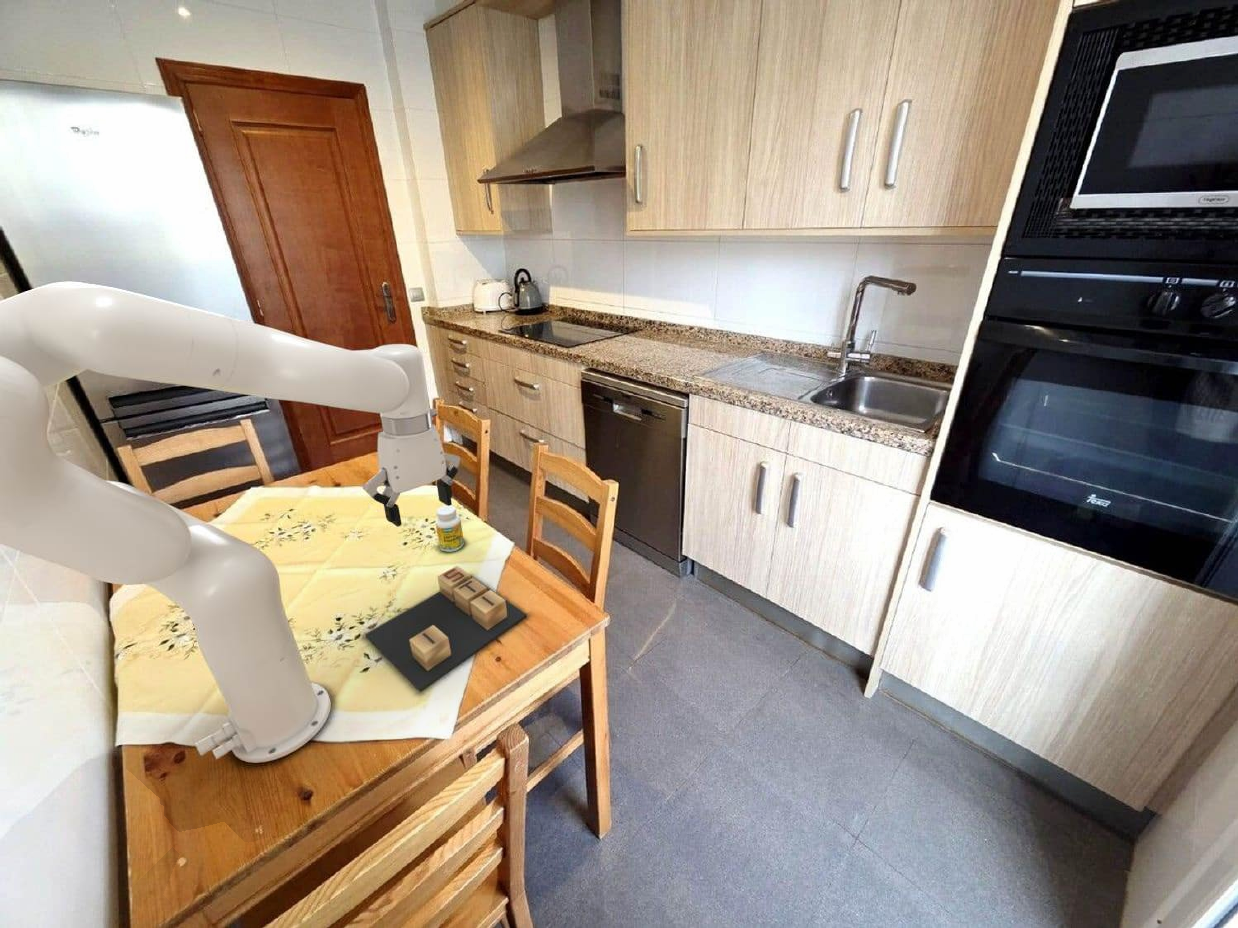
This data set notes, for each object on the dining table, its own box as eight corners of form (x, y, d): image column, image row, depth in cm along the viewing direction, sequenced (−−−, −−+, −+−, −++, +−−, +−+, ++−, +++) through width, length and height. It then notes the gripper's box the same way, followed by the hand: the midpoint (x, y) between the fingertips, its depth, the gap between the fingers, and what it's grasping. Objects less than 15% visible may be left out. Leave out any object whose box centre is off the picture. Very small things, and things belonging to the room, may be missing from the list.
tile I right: (487, 630, 91) (485, 612, 89) (472, 618, 93) (470, 601, 92) (507, 616, 94) (505, 599, 92) (492, 605, 96) (490, 589, 95)
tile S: (453, 602, 97) (450, 585, 95) (440, 592, 100) (437, 575, 98) (472, 590, 100) (470, 574, 98) (459, 581, 103) (457, 565, 101)
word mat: (420, 691, 80) (419, 689, 79) (365, 636, 90) (365, 634, 90) (526, 616, 95) (526, 614, 94) (469, 576, 105) (469, 574, 105)
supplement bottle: (460, 536, 118) (454, 501, 114) (467, 547, 114) (462, 511, 110) (436, 543, 116) (430, 507, 111) (443, 555, 112) (437, 518, 107)
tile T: (469, 616, 94) (466, 599, 92) (455, 605, 96) (452, 588, 95) (489, 603, 97) (487, 586, 95) (475, 593, 100) (472, 576, 98)
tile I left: (427, 671, 82) (423, 652, 81) (413, 657, 85) (408, 639, 83) (451, 654, 86) (448, 636, 84) (436, 641, 88) (433, 624, 86)
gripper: (441, 405, 90) (452, 489, 97) (342, 429, 78) (362, 524, 85) (465, 415, 86) (475, 502, 93) (365, 442, 74) (384, 540, 81)
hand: (421, 512), depth 89 cm, fingers open, 9 cm apart
